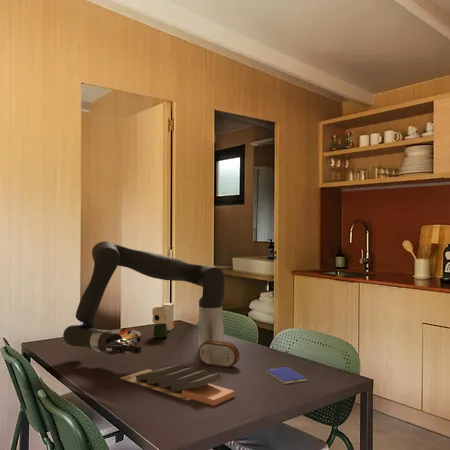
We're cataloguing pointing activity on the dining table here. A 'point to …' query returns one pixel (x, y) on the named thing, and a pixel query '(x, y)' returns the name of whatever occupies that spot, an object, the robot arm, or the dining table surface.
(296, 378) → the blue notebook
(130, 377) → the board
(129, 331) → the food plate
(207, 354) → the tin
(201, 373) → the domino
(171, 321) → the skincare box
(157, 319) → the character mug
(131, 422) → the dining table surface
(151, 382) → the domino
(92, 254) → the robot arm
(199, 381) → the domino
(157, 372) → the domino
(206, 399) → the domino
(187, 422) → the dining table surface
